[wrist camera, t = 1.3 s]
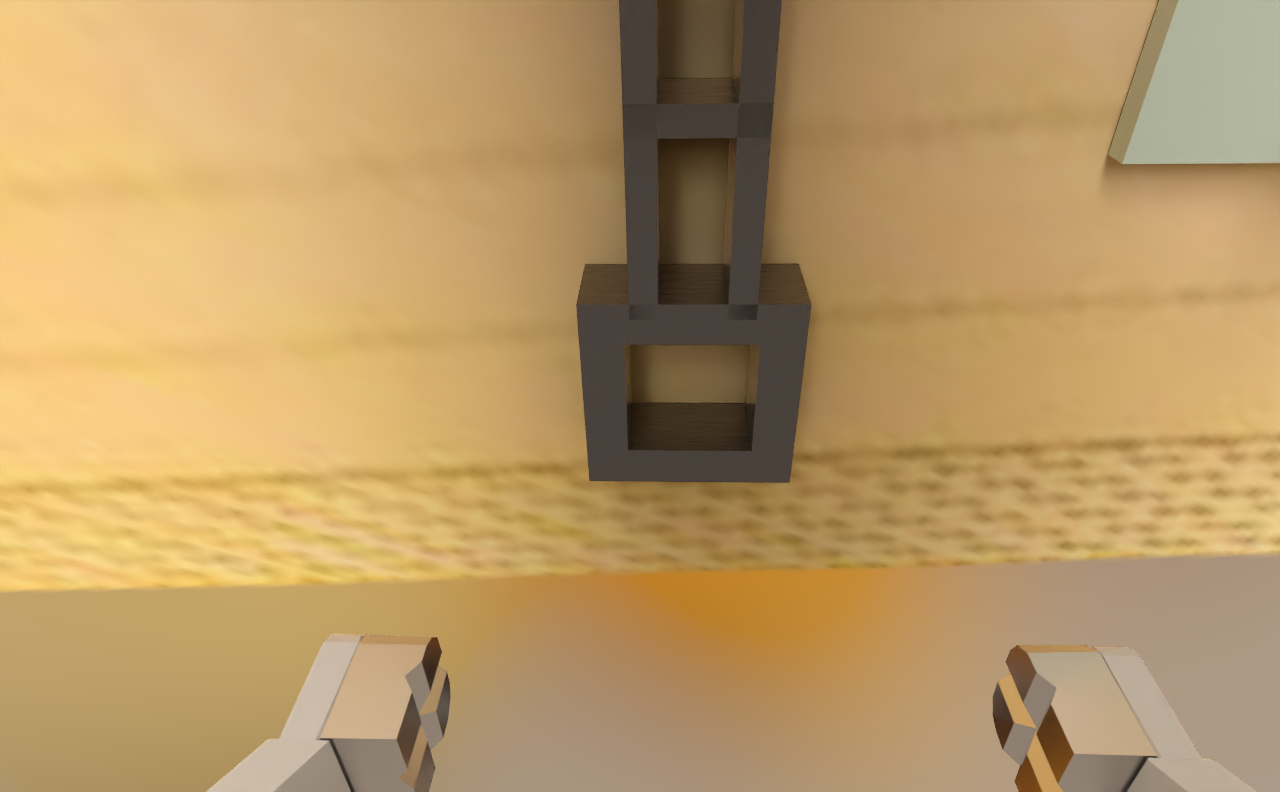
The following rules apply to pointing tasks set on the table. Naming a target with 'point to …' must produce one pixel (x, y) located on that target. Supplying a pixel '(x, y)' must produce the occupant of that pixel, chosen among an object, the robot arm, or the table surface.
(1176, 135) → the keeper board
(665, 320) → the grey hollow frame
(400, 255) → the table surface
